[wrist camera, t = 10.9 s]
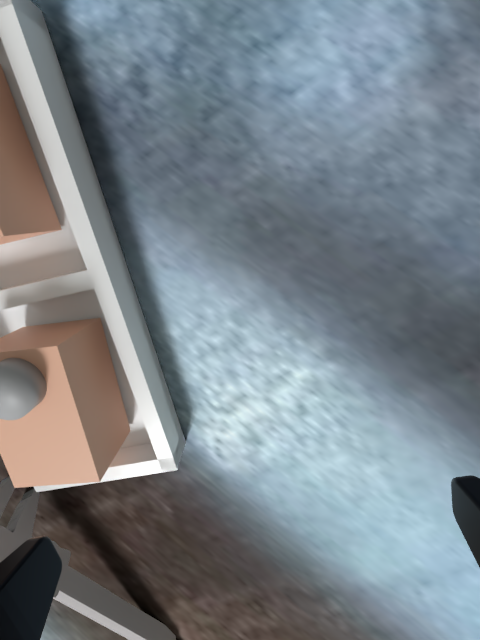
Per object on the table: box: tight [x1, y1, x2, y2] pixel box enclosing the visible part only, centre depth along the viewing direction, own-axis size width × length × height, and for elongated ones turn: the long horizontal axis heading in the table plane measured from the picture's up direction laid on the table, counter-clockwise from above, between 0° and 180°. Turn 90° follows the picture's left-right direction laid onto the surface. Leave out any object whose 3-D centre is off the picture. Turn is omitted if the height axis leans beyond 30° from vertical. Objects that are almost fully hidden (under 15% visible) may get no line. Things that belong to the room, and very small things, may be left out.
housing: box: [0, 0, 186, 492], centre depth 17 cm, size 9×23×2 cm, turn 13°
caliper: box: [0, 476, 176, 640], centre depth 23 cm, size 20×1×6 cm, turn 31°
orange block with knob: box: [0, 318, 131, 488], centre depth 17 cm, size 4×7×5 cm, turn 8°
